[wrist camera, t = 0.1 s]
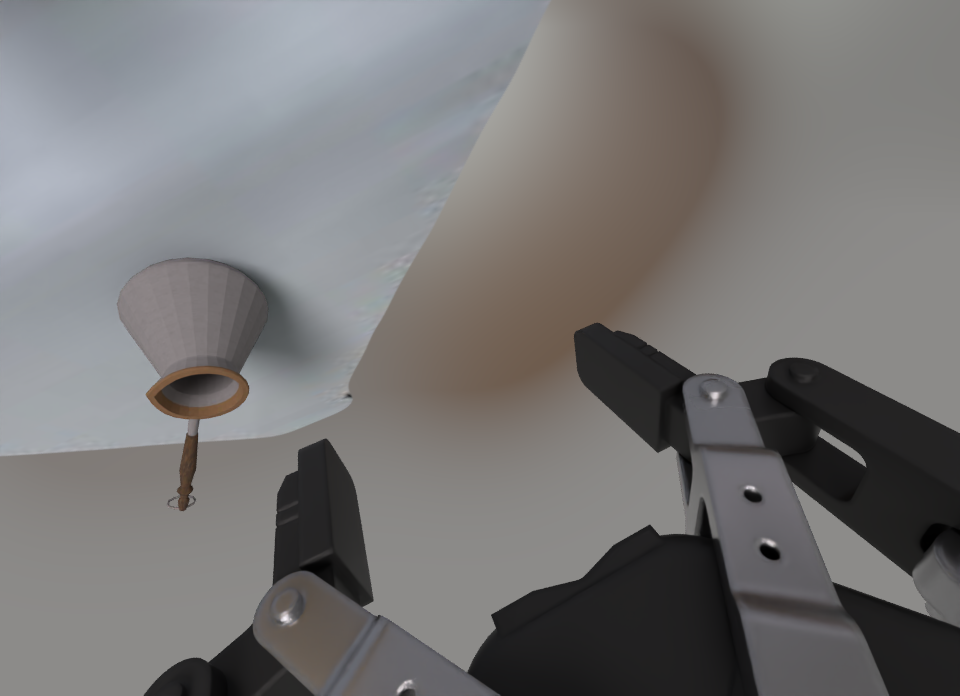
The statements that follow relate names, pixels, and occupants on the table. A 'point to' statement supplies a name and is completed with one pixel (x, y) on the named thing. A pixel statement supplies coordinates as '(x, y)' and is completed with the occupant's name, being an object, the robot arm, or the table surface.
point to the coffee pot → (194, 341)
